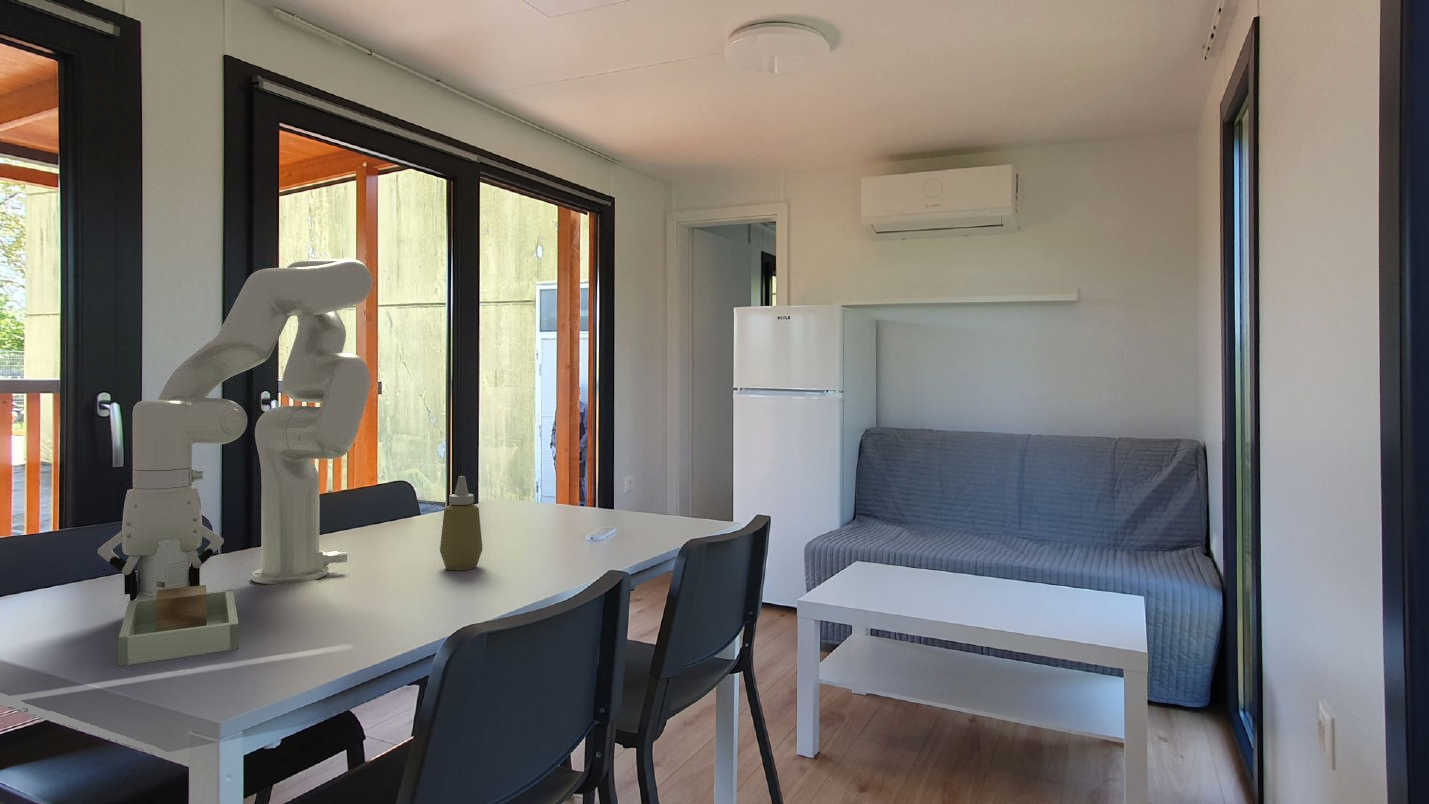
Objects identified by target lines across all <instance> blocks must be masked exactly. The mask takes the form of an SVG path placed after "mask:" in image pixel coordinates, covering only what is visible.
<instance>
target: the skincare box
mask: <svg viewBox="0 0 1429 804" xmlns="http://www.w3.org/2000/svg"><path fill="white" fill-rule="evenodd" d="M187 553H188V552H186V553H185V552H181V549H180V543H179V540H163V541H159V542H158V548H157V553H156V554H155V555H153V556H140V558H139V560H138V561H137V563H136V565H137V567H136V570H137V597H136V599H135V600H142V599H151V598H156V596H157V591H158V590H163V589H172V588H182V587H189V566H191V562H190V560H189V559H188V557H187Z"/></svg>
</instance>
